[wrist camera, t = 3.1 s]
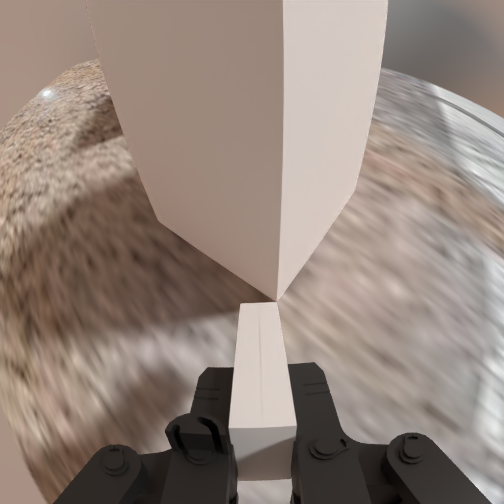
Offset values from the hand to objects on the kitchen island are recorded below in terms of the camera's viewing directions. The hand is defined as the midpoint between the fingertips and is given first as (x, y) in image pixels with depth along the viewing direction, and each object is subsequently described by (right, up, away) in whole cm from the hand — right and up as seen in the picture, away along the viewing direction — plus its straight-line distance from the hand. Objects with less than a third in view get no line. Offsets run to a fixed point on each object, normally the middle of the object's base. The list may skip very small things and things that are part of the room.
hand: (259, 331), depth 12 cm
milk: (0, +7, +11) cm, 13 cm away
